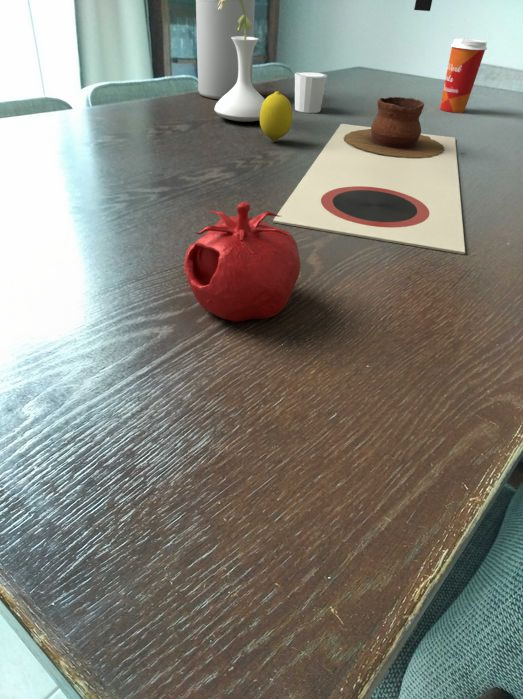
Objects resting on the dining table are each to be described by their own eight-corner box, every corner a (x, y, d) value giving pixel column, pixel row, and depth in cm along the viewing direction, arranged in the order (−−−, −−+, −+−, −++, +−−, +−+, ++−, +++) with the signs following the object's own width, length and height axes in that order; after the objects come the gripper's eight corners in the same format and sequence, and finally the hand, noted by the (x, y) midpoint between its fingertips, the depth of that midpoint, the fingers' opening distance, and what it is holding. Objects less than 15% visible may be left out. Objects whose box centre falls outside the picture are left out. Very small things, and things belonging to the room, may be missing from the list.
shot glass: (285, 108, 108) (288, 72, 104) (305, 105, 112) (309, 70, 108) (309, 115, 104) (313, 77, 100) (329, 111, 108) (334, 75, 104)
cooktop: (454, 139, 94) (455, 137, 94) (464, 254, 54) (465, 252, 54) (341, 125, 99) (341, 123, 98) (272, 222, 59) (272, 220, 58)
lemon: (256, 144, 85) (258, 92, 80) (261, 136, 89) (263, 86, 84) (288, 147, 84) (292, 95, 79) (291, 139, 89) (295, 89, 84)
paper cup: (432, 105, 119) (448, 37, 111) (463, 107, 119) (482, 39, 111) (439, 112, 113) (458, 41, 104) (473, 114, 113) (494, 43, 104)
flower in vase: (227, 110, 104) (228, -41, 89) (278, 117, 101) (289, -38, 86) (201, 123, 94) (197, -44, 79) (257, 131, 91) (264, -40, 76)
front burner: (430, 197, 68) (430, 195, 68) (427, 237, 58) (428, 235, 57) (330, 182, 71) (330, 180, 71) (310, 218, 60) (310, 216, 60)
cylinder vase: (233, 103, 109) (235, -40, 94) (187, 95, 114) (182, -43, 99) (261, 95, 118) (267, -37, 103) (217, 87, 123) (217, -40, 107)
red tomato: (295, 277, 48) (305, 182, 43) (297, 337, 40) (310, 230, 35) (194, 270, 48) (191, 175, 43) (177, 329, 40) (170, 221, 35)
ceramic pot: (405, 165, 79) (416, 117, 74) (323, 138, 89) (328, 95, 84) (463, 147, 89) (475, 104, 84) (383, 125, 99) (390, 86, 94)
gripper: (436, -166, 82) (403, 6, 96) (435, -194, 68) (397, 10, 83) (483, -165, 80) (443, 9, 94) (491, -194, 67) (444, 13, 81)
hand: (422, 9), depth 88 cm, fingers open, 4 cm apart
